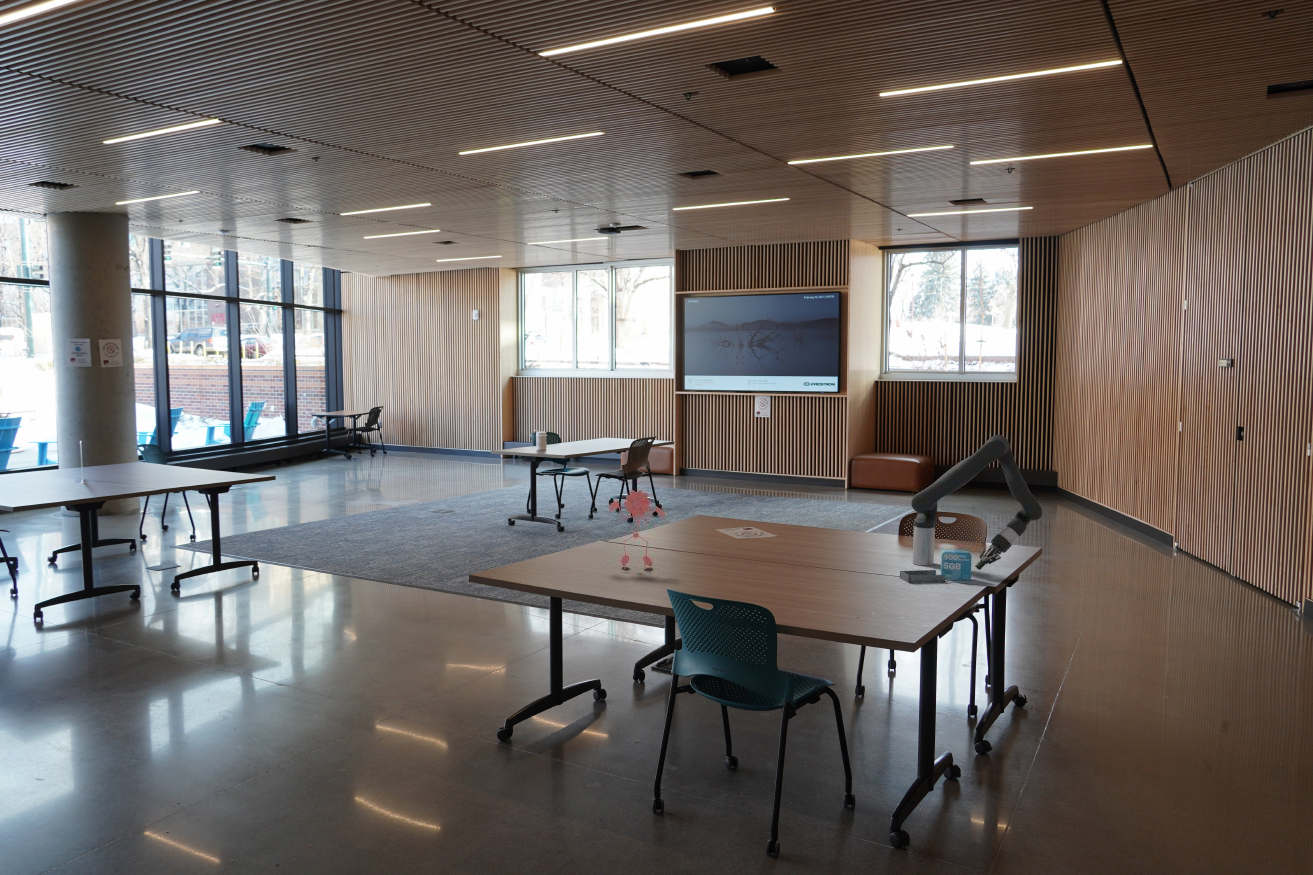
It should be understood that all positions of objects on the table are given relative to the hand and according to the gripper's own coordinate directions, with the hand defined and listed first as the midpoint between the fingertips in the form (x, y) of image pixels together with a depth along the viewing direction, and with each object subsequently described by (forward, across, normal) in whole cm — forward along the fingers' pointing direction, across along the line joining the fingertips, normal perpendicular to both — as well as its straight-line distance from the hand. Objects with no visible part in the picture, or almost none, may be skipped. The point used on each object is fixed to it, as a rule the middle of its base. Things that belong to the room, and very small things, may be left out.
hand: (977, 568), depth 385 cm
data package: (+10, 0, -4) cm, 11 cm away
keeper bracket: (+21, 0, -14) cm, 25 cm away
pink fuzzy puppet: (+104, -41, -97) cm, 148 cm away
